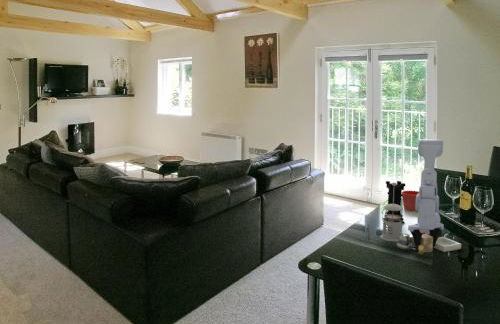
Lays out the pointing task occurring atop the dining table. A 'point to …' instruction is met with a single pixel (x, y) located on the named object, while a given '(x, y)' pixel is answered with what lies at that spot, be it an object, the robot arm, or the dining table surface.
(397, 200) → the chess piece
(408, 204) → the flower pot
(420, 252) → the crank base
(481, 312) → the dining table surface
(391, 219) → the french press
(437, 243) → the tray
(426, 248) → the block
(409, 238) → the crank
